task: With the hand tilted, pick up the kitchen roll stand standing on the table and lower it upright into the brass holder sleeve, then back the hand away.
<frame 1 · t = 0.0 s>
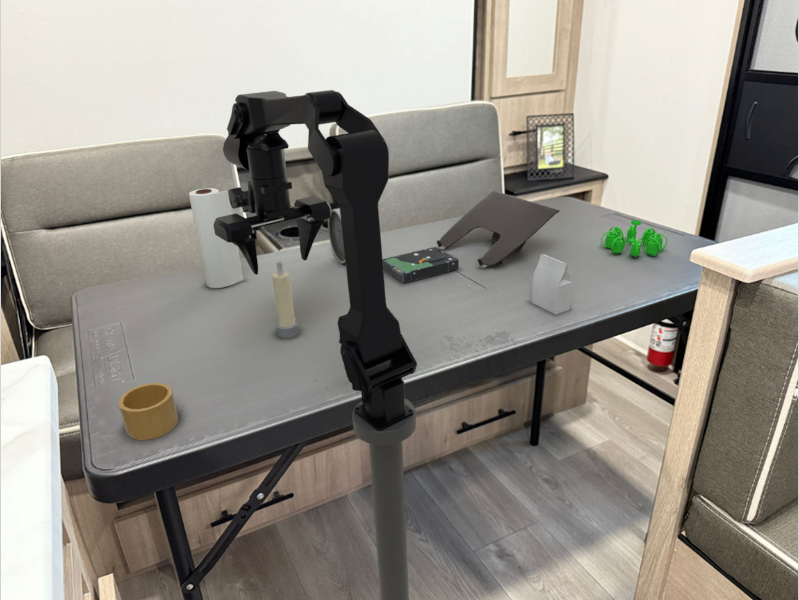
hand: (280, 266, 102), 15 cm above the table, tool pointing down, fingers open, 9 cm apart
magnifying glass: (354, 269, 141), on the table
chandelier: (632, 250, 146), on the table
white gabled box: (550, 306, 120), on the table
disk drive: (420, 270, 139), on the table
kitchen roll stand: (288, 333, 113), on the table
holder: (152, 424, 89), on the table
laptop tray: (490, 250, 149), on the table
paper towel roll: (222, 284, 136), on the table
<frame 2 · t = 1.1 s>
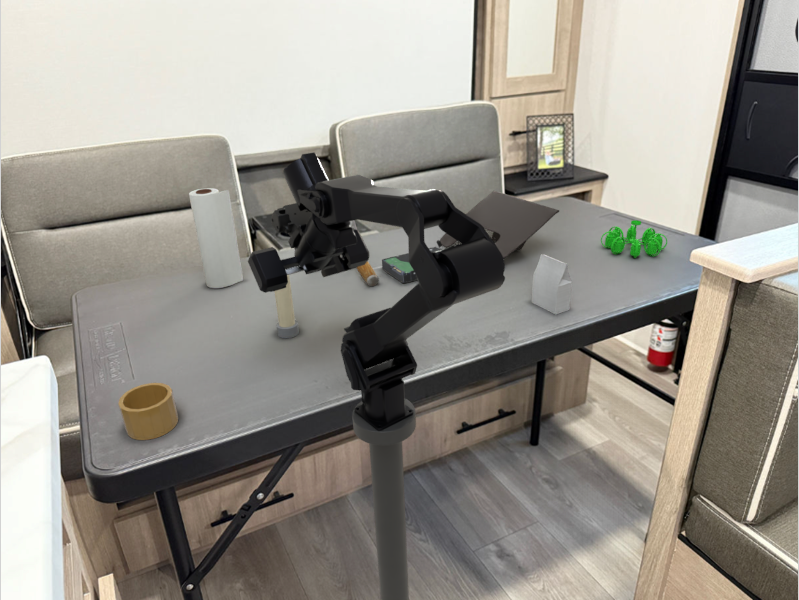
hand: (298, 281, 102), 13 cm above the table, tool tilted 45°, fingers open, 9 cm apart
nothing on the table moved.
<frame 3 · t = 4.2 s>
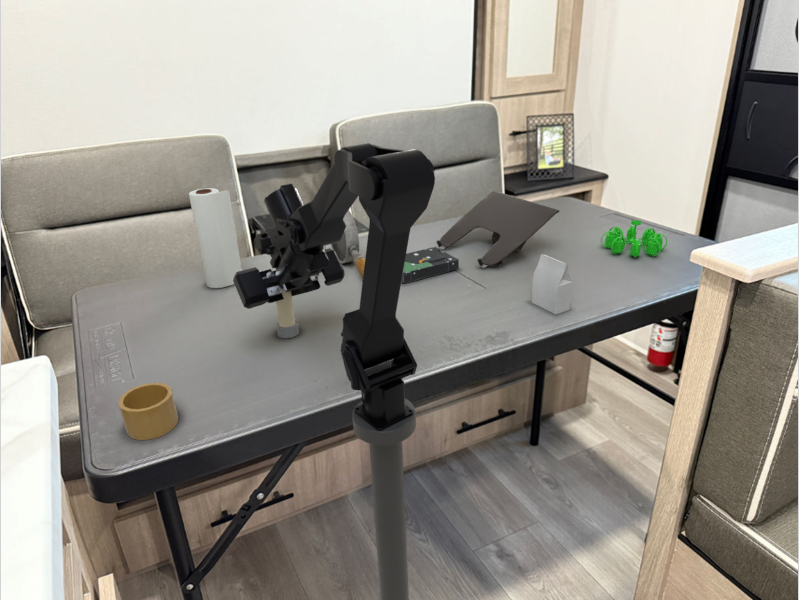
hand: (280, 296, 111), 7 cm above the table, tool tilted 45°, fingers closed on kitchen roll stand, 3 cm apart
kitchen roll stand: (288, 333, 113), on the table, touching gripper
everything else where it was.
when the fingers open (8 cm above the table, at t = 13.3 s): kitchen roll stand stays where it is, resting on holder.
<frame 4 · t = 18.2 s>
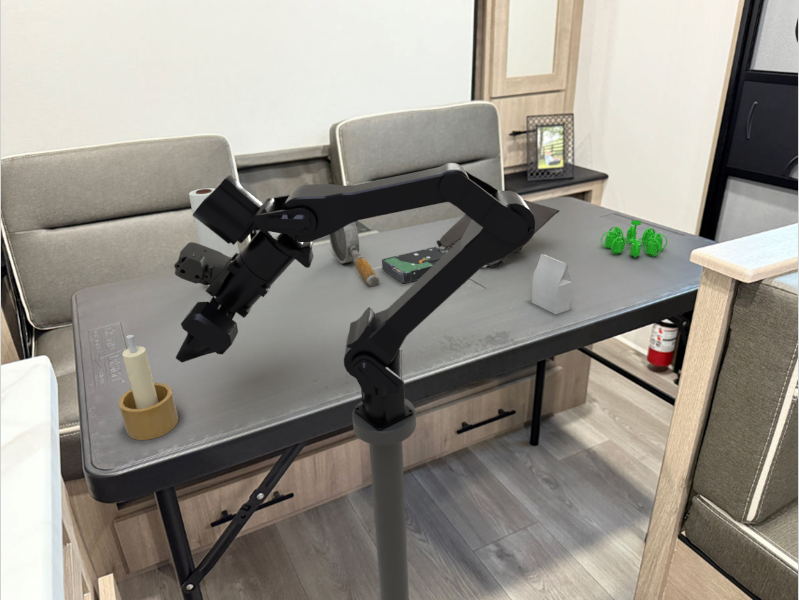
hand: (190, 342, 83), 14 cm above the table, tool tilted 45°, fingers open, 9 cm apart
kitchen roll stand: (152, 422, 89), resting on holder
everything else where it was.
at the end: kitchen roll stand 0.0 cm off-centre in the holder, point 0.5 cm above the holder's base; kitchen roll stand tilted 0°; the gripper is holding nothing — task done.
